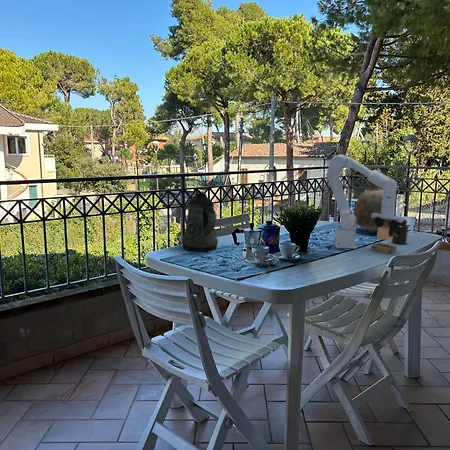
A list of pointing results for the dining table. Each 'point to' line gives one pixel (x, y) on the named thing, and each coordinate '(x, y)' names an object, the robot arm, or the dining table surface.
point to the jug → (369, 208)
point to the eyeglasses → (249, 262)
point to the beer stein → (200, 225)
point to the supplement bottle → (400, 233)
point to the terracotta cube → (383, 233)
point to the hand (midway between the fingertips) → (385, 235)
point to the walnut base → (383, 248)
